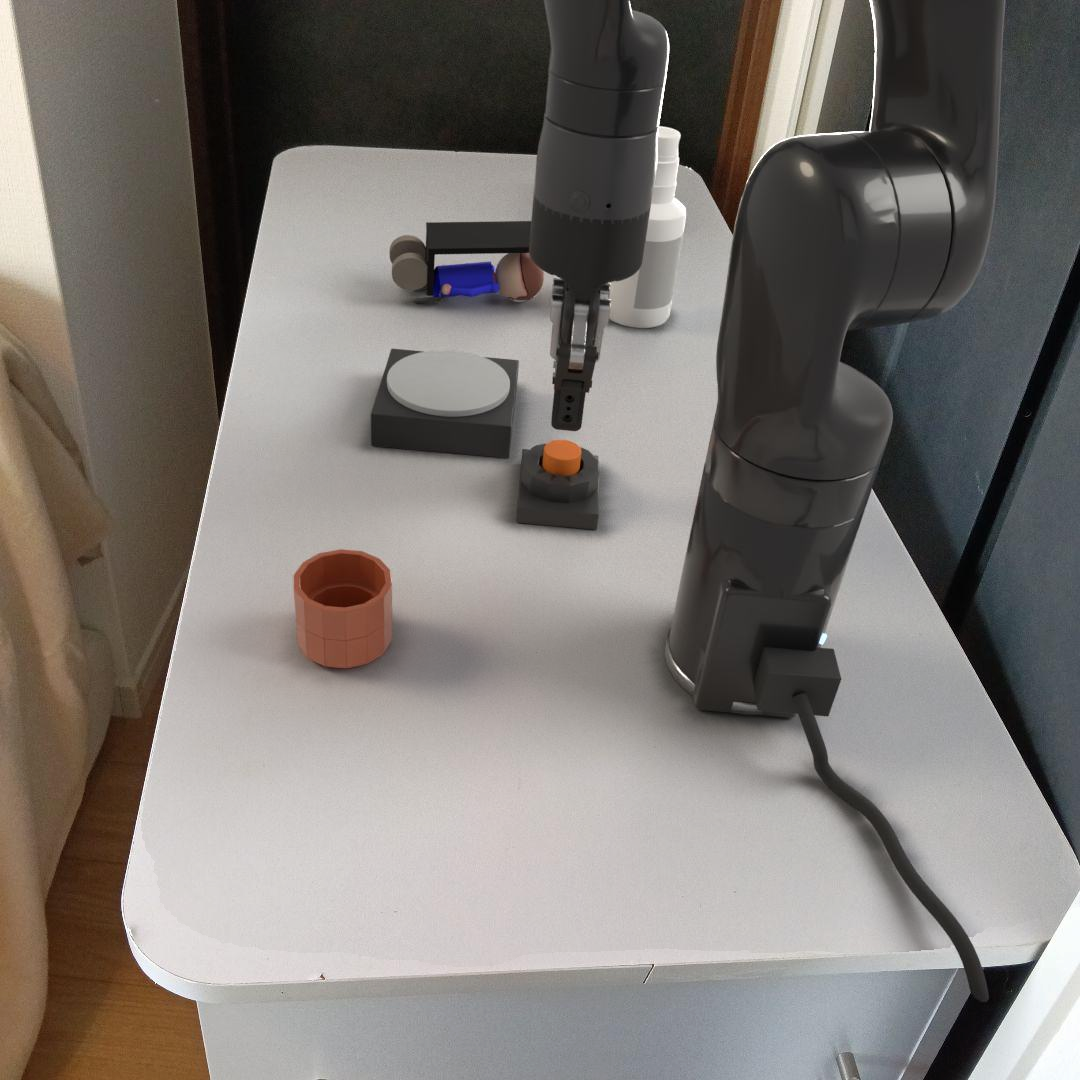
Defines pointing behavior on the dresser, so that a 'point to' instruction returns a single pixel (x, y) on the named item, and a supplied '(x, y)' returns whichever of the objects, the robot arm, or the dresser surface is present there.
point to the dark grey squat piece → (558, 492)
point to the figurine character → (471, 279)
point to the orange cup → (343, 608)
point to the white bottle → (655, 248)
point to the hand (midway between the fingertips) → (565, 424)
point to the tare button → (561, 457)
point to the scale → (446, 403)
